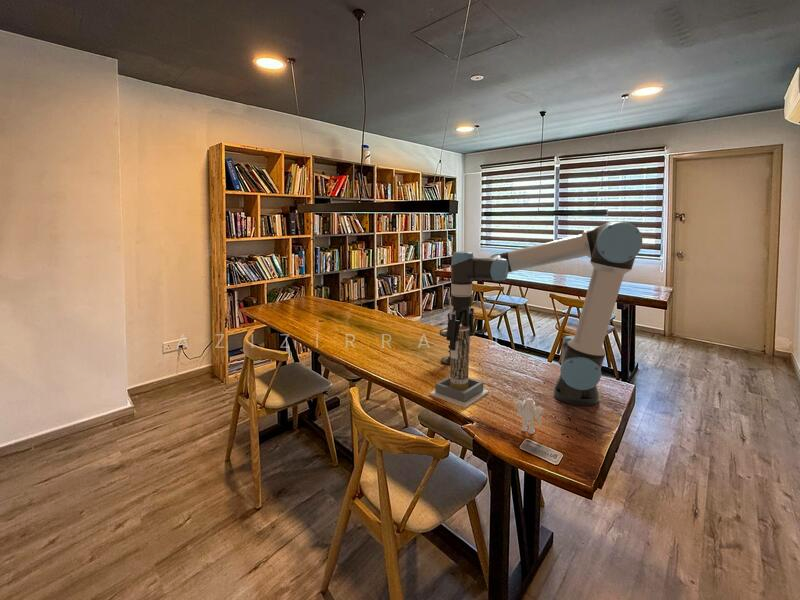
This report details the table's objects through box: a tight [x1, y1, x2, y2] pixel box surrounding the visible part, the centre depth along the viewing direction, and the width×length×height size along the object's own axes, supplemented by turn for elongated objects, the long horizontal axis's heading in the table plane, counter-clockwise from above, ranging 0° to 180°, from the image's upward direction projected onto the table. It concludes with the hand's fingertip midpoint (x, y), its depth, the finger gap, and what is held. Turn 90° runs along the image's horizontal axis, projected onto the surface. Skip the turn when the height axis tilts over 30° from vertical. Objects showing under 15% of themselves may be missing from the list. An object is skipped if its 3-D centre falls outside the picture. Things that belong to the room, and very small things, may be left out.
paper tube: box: [449, 324, 470, 391], centre depth 147 cm, size 7×7×25 cm
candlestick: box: [439, 294, 453, 366], centre depth 180 cm, size 11×11×35 cm
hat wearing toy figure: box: [514, 393, 545, 435], centre depth 122 cm, size 9×4×12 cm, turn 48°
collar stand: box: [429, 375, 490, 409], centre depth 149 cm, size 16×16×4 cm
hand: (460, 355), depth 147 cm, fingers open, 7 cm apart
